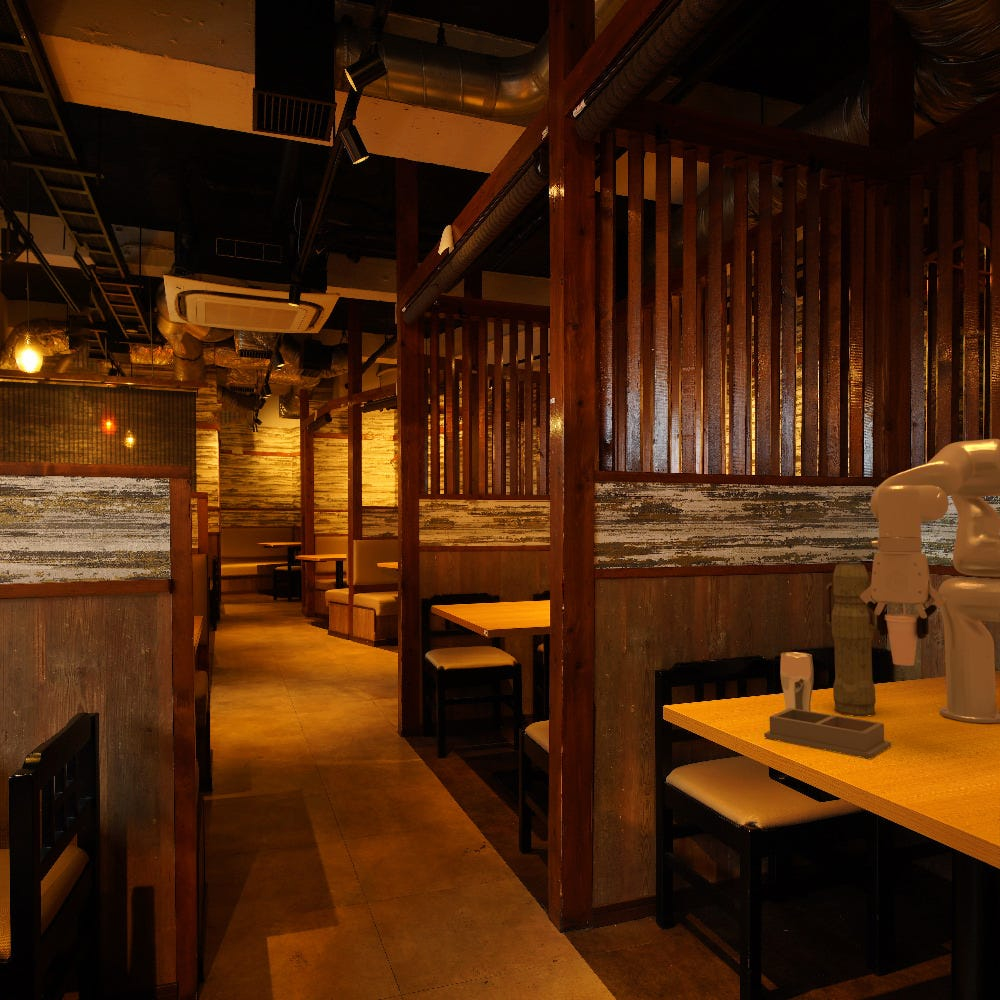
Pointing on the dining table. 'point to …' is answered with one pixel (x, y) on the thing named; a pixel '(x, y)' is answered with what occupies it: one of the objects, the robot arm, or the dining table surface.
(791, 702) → the beer glass
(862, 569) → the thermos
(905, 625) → the smoothie
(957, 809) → the dining table surface
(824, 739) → the drink carrier
